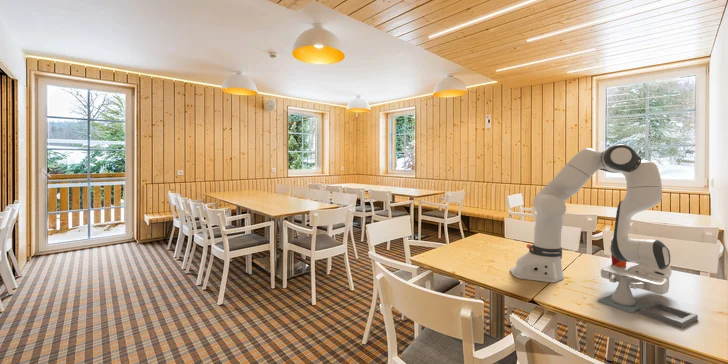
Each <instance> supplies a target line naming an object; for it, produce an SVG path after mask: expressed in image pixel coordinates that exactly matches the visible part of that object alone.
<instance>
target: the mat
mask: <svg viewBox="0 0 728 364" xmlns="http://www.w3.org/2000/svg"><path fill="white" fill-rule="evenodd" d="M612 295H613V294H610V295H608V296H605V297H602V298H599V299H597V302H599V303H601V304H604V305H607V306H610V307H612V308H614V309H615V308H616V309H618V310H621V311H624V312H627V313H629V314H633V313H635V312H637V311H640V308H642V307H644V306H647V305H648V304H646V303H643V302H639V301H636V300H635V302H636V305H633V306H626V305H620V304H618V303H615V302H613V301H612V300H611V297H612Z"/></svg>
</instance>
